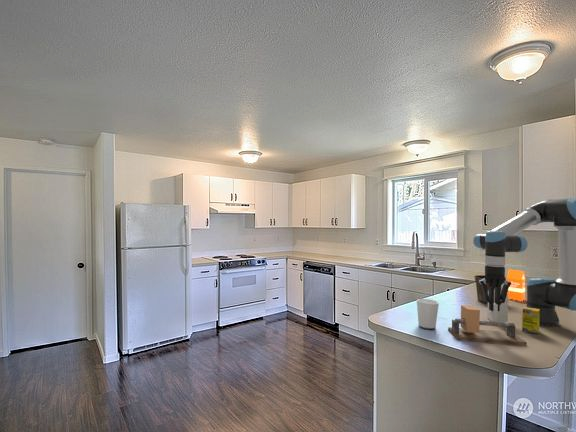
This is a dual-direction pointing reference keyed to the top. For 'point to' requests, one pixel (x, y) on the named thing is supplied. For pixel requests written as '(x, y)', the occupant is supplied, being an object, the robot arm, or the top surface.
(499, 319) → the milk carton
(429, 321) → the cup
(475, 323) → the collar
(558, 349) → the top surface
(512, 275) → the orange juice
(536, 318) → the supplement box
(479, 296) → the plant pot
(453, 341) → the top surface
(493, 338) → the pipe stand
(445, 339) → the top surface
